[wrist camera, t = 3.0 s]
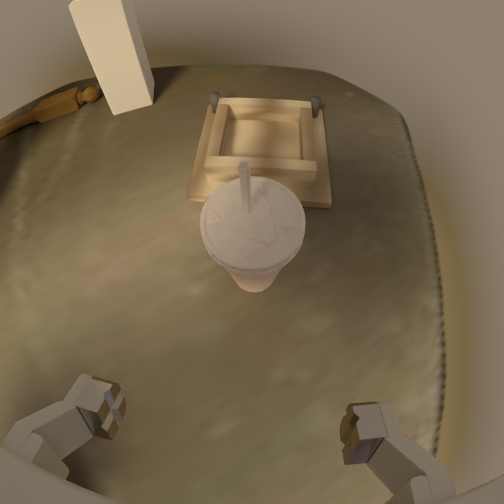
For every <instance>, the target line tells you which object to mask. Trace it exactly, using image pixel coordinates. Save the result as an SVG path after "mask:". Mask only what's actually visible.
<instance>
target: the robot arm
mask: <svg viewBox="0 0 504 504" xmlns="http://www.w3.org/2000/svg"><path fill="white" fill-rule="evenodd" d="M120 390H121V388H120V386H119V383H116V382H112V381H109V380H105V379H101V378H98V377H95V376H91V375H88V374H84V373H83V374H81V375H80V376H79V377H78V378H77V380H76V381H75V383H74V384H73V386H72V387H71V389H70V390H69V392H68V394H67V395H66V397H65V398H64V400H63V401H58V402H56V403H54V404H52V405H50V406H48V407H45V408H43V409H41V410H39V411H37V412H35V413H33V414H31V415H29V416H27V417H25V418H23V419H21V420H19V421H17V422H16V423H15V424H14V426H13V427H12V429H11V430H10V432H9V433H8V435H7V436H6V438H5V439H4V441H3V443H2V444H1V443H0V504H127V503H123V502H120V501H117V500H114V499H112V498H109V497H106V496H103V495H100V494H98V493H95V492H93V491H90V490H88V489H85V488H83V487H80V486H78V485H76V484H73V483H71V482H69V481H67V480H66V478H67V476H68V473H69V469H68V467H67V466H66V465H65V464H64V463H63V461H62V459H63V458H65V457H66V456H67V455H69V454H70V453H72V452H73V451H74V450H76V449H77V448H78V447H80V446H81V445H83V444H84V443H85V442H87V441H88V440H89V439H91V438H92V437H93V435H94V436H97V437H101V438H104V439H107V440H111V441H113V439H114V437H115V434H116V432H117V430H118V425H117V422H119V421H120V420H122V419H123V416H124V414H125V409H126V403H125V399H124V397H123V396H122V395H121V394H120V393H119V392H120ZM346 413H347V415H345V416H344V417H343V418H342V421H341V424H340V439H341V441H342V442H343V443H344V444H345V446H344V448H343V450H342V452H343V458H344V465H353V464H364V463H367V465H368V467H369V468H370V469H371V470H372V471H373V472H374V473H375V475H376V476H377V477H378V478H379V479H380V480H381V481H382V482H383V483H384V485H385V486H386V487H387V488H388V489H389V490H390V491H391V492H392V493H393V494H394V496H393V497H391V498H390V499H389V500H388V501H387V502H386V503H385V504H504V474H503V475H501V476H499V477H497V478H495V479H493V480H491V481H489V482H487V483H485V484H482V485H480V486H478V487H476V488H473V489H471V490H468V491H466V492H464V493H461V494H459V495H456V491H455V488H454V485H453V482H452V479H451V476H450V473H449V470H448V468H447V467H446V466H445V465H444V464H442V463H441V462H440V461H439V460H437V459H436V458H435V457H434V456H432V455H431V454H430V453H428V452H427V451H426V450H425V449H423V448H422V447H421V446H420V445H418V444H417V443H416V442H415V441H413V440H412V439H411V438H410V437H408V436H407V435H402V432H401V429H400V426H399V423H398V420H397V417H396V415H395V412H394V409H393V406H392V403H391V402H390V401H379V402H364V403H350V404H349V405H348V406H347V409H346Z"/></svg>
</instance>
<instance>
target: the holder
mask: <svg viewBox="0 0 504 504" xmlns="http://www.w3.org/2000/svg"><path fill="white" fill-rule="evenodd" d="M210 100H211V105H209V107H208V110H207V114H206V118H205V122H204V126H203V130H202V134H201V138H200V142H199V146H198V150H197V154H196V158H195V163H194V167H193V171H192V176H191V180H190V185H189V190H188V194H187V197H188V200H189V201H195V202H206V201H207V199H208V198H209V196H210V195H211V194H212V193H213V192H214V191H215V190H216V189H217V188H219V187H220V186H222V185H223V184H225V183H227V182H229V181H231V180H234V179H237V178H239V168H238V164H239V163H240V162H242V161H247V162H249V163H250V176H256V177H265V178H269V179H272V180H275V181H277V182H279V183H281V184H283V185H284V186H286V187H287V188H289V189H290V190H291V191H292V192H293V193H294V194H295V195H296V197H297V198H298V199H299V201H300V203H301V205H302V207H315V208H328V209H330V207H331V204H332V198H331V186H330V175H329V164H328V155H327V146H326V137H325V129H324V121H323V114H322V110H321V109H319V107H320V102H321V99H320V98H319V97H316V96H313V97H311V99H310V102H307V101H296V100H282V99H262V98H221V97H220V93H218V92H213V93H211V94H210Z"/></svg>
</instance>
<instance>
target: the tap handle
mask: <svg viewBox="0 0 504 504" xmlns="http://www.w3.org/2000/svg"><path fill="white" fill-rule="evenodd" d="M98 97H99V90H98V89H97V87H95V86H90V87H87V88H86V89H85V91H84V92H83V91H80V90H79V89H78V88H77V87H75V88H72V89H69V90H67V91H64V92H62V93H59V94H56V95H54V96H51V97H49V98H47V99H44V100H42V101H41V102H40V103H39V104H38V105H37V106H36V108H33V109H31V111H30V112H28V113H26V114H23V115H21V116H18V117H16V118H14V119H11V120H9V121H7V122H5V123H2V124H0V139H1V138H2V137H4V136H6V135H8V134H10V133H12V132H14V131H15V130H17V129H19V128H21V127H23V126H25V125H27V124H29V123H32V122H33V123H36V122H37V121H39V122H40V123H43V122H46V121H48V120H51V119H54V118H57V117H59V116H62V115H65V114H68V113H71V112H74V111H77V110H79V109H80V107H81V106H82V104H84V103H85V101H86V102H87V103H92V102H95V101H96V100H97V99H98ZM77 101H78V102H77ZM78 103H79V104H81V105H79V104H78Z"/></svg>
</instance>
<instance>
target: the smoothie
mask: <svg viewBox="0 0 504 504" xmlns="http://www.w3.org/2000/svg"><path fill="white" fill-rule="evenodd" d="M238 168H239V178H237V179H234V180H231V181H229V182H227V183H225V184H223V185H222V186H220V187H219V188H217V189H216V190H215V191H214V192H213V193H212V194H211V195H210V196H209V198H208V199H207V201H206V202H205V204H204V206H203V209H202V212H201V216H200V231H201V235H202V240H203V244H204V246H205V247H206V249H207V251H208V253H209V255H210V256H211V257H212V258H213V259H214V260H215V261H216V262H217V263H218V264H219V265H221V266H223V267H224V268H226V269H227V271H228V272H229V274H230V275H231V276H232V278H233V279H234V280H235V282H236V283H237V284H238V286H239V287H241V288H242V289H243V290H245V291H248V292H260V291H263V290H265V289H267V288H268V287H269V286H270V285H271V284H272V282H273V281H274V279H275V278H276V276H277V275H278V273H279V271H280V270H281V268H282V267H283V266H285V265H286V264H287V263H288V262H289V261H290V260H291V259H292V258H294V257H295V255H296V254H297V252H298V250H299V249H300V247H301V245H302V242H303V238H304V234H305V224H306V221H305V213H304V210H303V207H302V205H301V203H300V201H299V199H298V198H297V197H296V195H295V194H294V193H293V192H292V191H291V190H290V189H289V188H287V187H286V186H284V185H283V184H281V183H279V182H277V181H275V180H272V179H269V178H265V177H256V176H250V163H249V162H247V161H242V162H240V163H239V164H238Z"/></svg>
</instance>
